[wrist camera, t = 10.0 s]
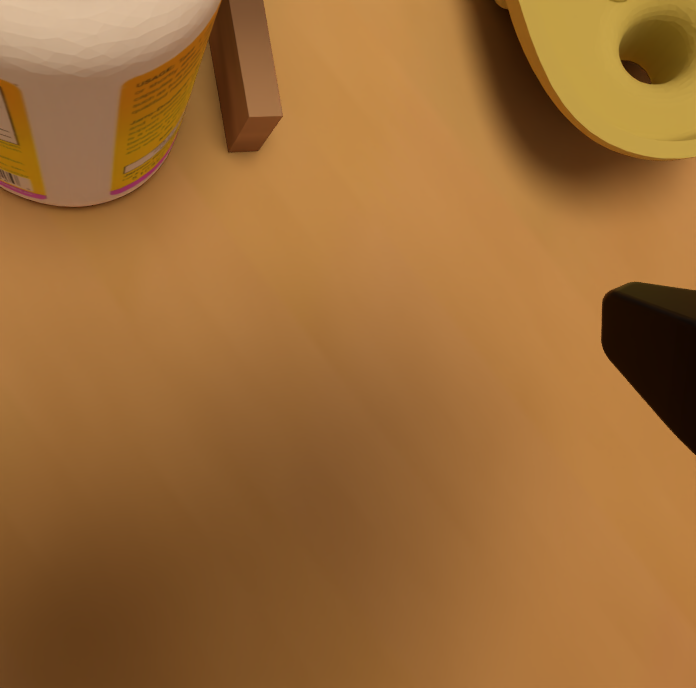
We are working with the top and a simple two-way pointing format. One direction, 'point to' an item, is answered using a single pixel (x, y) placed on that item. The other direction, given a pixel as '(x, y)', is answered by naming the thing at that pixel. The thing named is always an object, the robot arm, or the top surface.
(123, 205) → the top surface
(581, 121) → the plastic component
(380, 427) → the top surface
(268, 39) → the walnut holder rail
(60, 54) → the supplement bottle
